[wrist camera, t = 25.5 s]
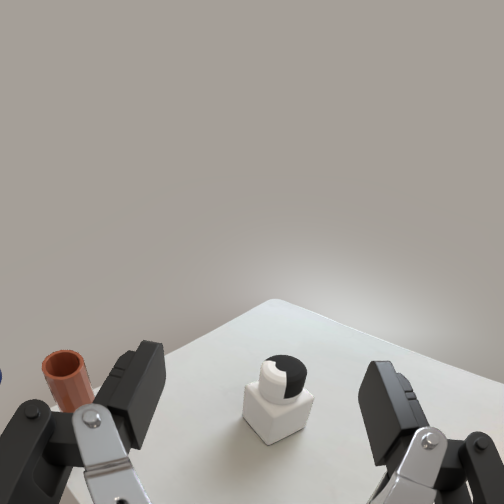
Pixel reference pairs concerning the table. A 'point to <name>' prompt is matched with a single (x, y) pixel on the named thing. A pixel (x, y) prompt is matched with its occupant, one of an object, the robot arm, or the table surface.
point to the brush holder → (68, 380)
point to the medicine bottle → (278, 399)
